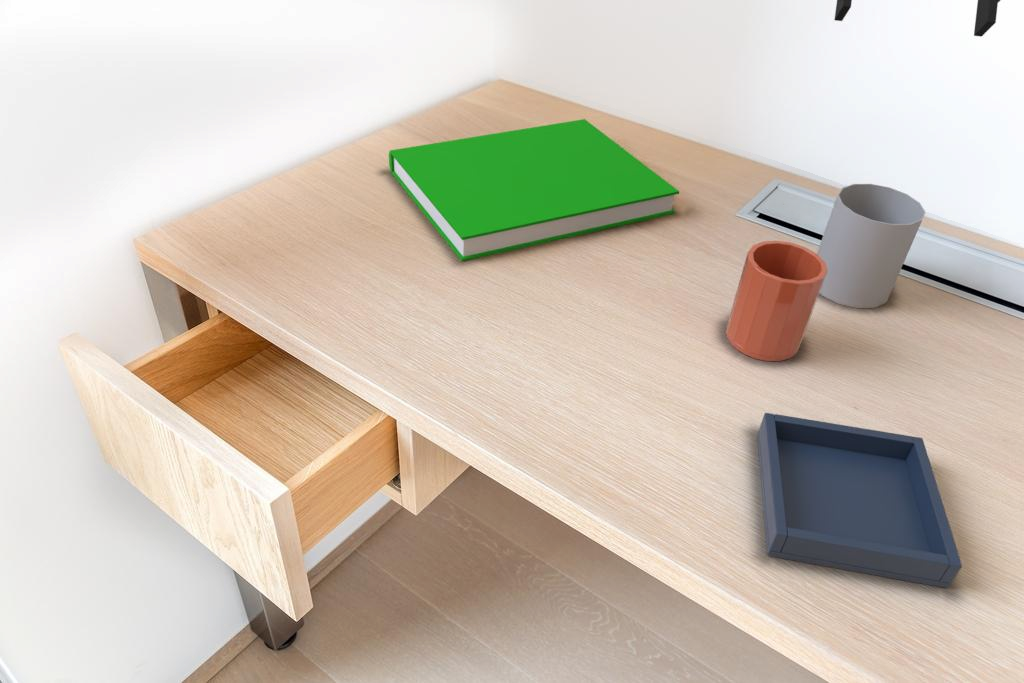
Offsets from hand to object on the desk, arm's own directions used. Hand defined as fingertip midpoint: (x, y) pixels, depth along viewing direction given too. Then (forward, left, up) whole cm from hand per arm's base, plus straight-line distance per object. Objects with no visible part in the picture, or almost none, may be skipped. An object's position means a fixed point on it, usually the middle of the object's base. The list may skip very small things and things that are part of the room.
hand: (912, 22), depth 79 cm
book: (+37, 0, -25) cm, 45 cm away
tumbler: (+10, +23, -25) cm, 35 cm away
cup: (0, +11, -25) cm, 27 cm away
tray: (+5, +43, -25) cm, 49 cm away
